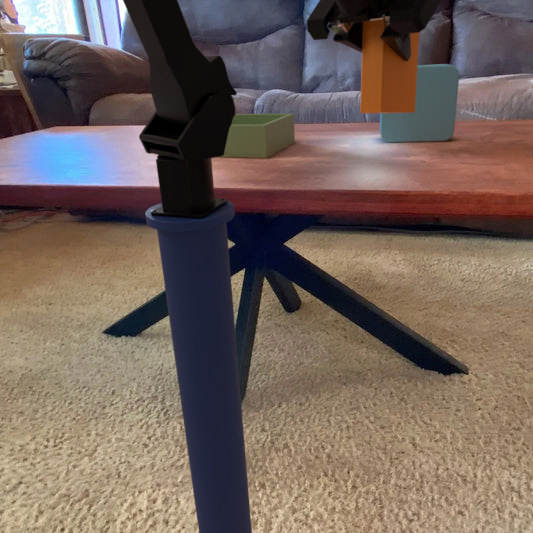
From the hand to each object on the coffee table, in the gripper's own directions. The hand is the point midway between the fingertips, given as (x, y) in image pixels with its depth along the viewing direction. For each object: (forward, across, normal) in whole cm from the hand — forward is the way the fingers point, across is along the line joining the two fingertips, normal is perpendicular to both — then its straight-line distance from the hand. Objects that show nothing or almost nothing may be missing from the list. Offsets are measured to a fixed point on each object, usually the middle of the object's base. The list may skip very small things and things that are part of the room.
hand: (395, 59), depth 72 cm
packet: (+4, -1, +6) cm, 7 cm away
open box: (+2, +24, +17) cm, 29 cm away
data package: (+19, +5, 0) cm, 20 cm away
